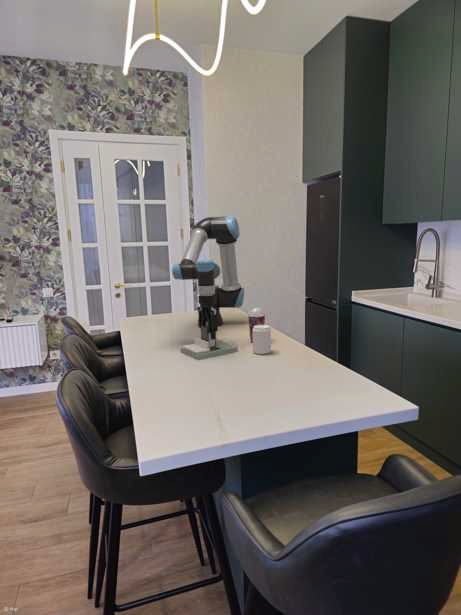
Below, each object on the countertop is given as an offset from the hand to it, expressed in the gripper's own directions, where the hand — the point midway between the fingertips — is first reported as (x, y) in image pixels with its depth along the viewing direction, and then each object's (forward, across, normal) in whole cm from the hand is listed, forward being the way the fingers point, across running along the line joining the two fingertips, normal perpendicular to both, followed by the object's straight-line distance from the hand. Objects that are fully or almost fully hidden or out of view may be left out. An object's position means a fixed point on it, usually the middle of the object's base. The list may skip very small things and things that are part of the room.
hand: (208, 344), depth 184 cm
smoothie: (+3, +1, +28) cm, 28 cm away
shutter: (+1, 0, -7) cm, 7 cm away
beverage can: (+3, +17, +18) cm, 25 cm away
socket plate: (+3, 0, 0) cm, 3 cm away
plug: (0, 0, 0) cm, 0 cm away
